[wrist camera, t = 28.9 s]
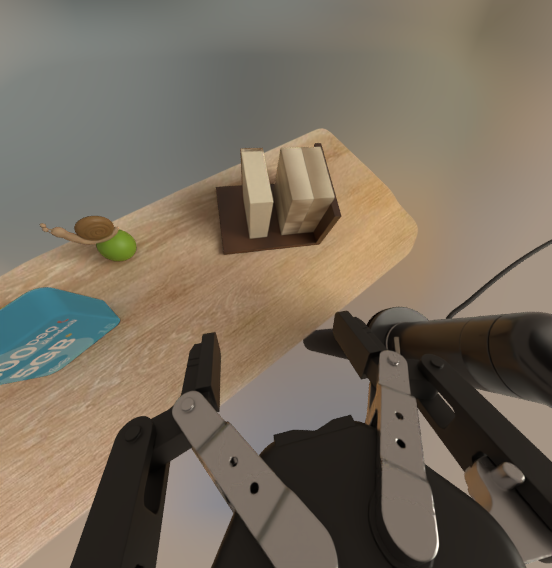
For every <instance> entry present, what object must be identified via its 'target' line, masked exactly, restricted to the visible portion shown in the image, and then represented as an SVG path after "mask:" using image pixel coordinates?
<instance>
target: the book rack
mask: <svg viewBox="0 0 552 568" xmlns="http://www.w3.org/2000/svg"><path fill="white" fill-rule="evenodd" d="M270 188H271V193H272V198H273V206H272V212H271V218H270V223H269V229H268V234H267V237H260V238H251V239H250V236H249V230H248V224H247V218H246V212H245V206H244V200H243V194H242V186H225V187H216V192H217V200H218V208H219V216H220V224H221V233H222V241H223V249H224V254H225V255H226V254H235V253H244V252H254V251H263V250H272V249H281V248H290V247H300V246H309V245H318V244H320V243H321V242H322V241H323V239H324V238H325V237H326V235H327V234H328V233H329V232H330V230H331V229H332V228H333V226H334V225H335V224H336V222H337V221H338V220H339V219H340V217H341V213H340V209H339V206H338V202H337V199H336V195H335V192H334V188H333V184H332V181H331V177H330V174H329V170H328V167H327V163H326V159H325V156H324V152H323V149H322V145H321V143H315V145H314V147H295V148H281V150H280V156H279V162H278V167H277V173H276V179H275V184H270Z"/></svg>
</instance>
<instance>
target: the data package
mask: <svg viewBox="0 0 552 568" xmlns="http://www.w3.org/2000/svg"><path fill="white" fill-rule="evenodd" d="M119 322H120V319H119V318H118V316H117V315H116V314H115V313H114V312H113V311H112V310H111V308H110V307H109V306H108V305H107V304H106V303H105V302H104V301H103V300H100V299H96V298H91V297H87V296H83V295H79V294H75V293H71V292H67V291H63V290H59V289H55V288H50V287H43V288H37V289H33V290H31V291H28V292H26V293H25V294H23V295H21V296H20V297H18V298H17V299H15V300H14V301H12V302H11V303H9V304H8V305H6V306H5V307H3V308H2V309H0V385H2V384H7V383H12V382H17V381H22V380H28V379H33V378H38V377H43V376H47V375H50V374H53V373H55V372H57V371H59V370H60V369H62V368H63V367H65V366H66V365H67V364H69V363H70V362H71V361H72V360H74V359H75V358H76V357H77V356H79V355H80V354H81V353H83V352H84V351H85V350H86V349H88V348H89V347H90V346H91V345H93V344H94V343H95V342H97V341H98V340H99V339H100V338H102V337H103V336H104V335H105V334H107V333H108V332H109V331H111V330H112V329H113V328H114V327H116V326H117V325H118V324H119Z"/></svg>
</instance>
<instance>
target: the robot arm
mask: <svg viewBox="0 0 552 568" xmlns="http://www.w3.org/2000/svg"><path fill="white" fill-rule="evenodd" d="M550 244H552V240H550V241H548V242H546V243H544V244H542V245H541V246H539V247H537V248H535V249H534V250H532V251H531V252H529V253H527V254H526V255H524V256H523V257H521V258H520V259H518V260H517V261H515V262H514V263H512V264H511V265H510V266H508V267H507V268H505V269H504V270H503V271H501V272H500V273H499V274H498V275H496V276H495V277H494V278H493V279H491V280H490V281H489V282H488V283H486V284H485V285H484V286H483V287H482V288H480V289H479V290H478V291H477V292H476V293H475V294H473V295H472V296H471V297H470V298H469V299H468V300H466V301H465V302H464V303H462V304H461V305H460V306H458V307H457V308H455V309H454V310H453V311H452V312H451V313H450V314H449V315H448V316H447V317H446V319H441V320H432V321H419V322H401V323H397V324H395V325H393V326H392V327H391V328H390V329H389V330H388V331H387V333H386V336H385V342H384V345H385V346H384V345H383V344H382V342H381V341H380V340H379V339H378V338H377V337H376V336H375V334H374V333H372V331H371V330H370V329H369V328H368V326H367V325H366V324H365V323H364V322H363V321H362V320H360V319H359V318H357V317H353V316H352V315H351V314H350V313H349V312H348V311H342V312H336V313H335V318H334V325H333V335H334V337H335V339H336V340H337V342H338V344H339V345H340V347H341V348H342V350H343V352H344V353H345V355H346V356H347V358H348V359H349V361H350V363H351V364H352V366H353V367H354V369H355V371H356V372H357V373H358V375H359V377H360V378H361V379H365V378H368V379H369V380H370V383H369V393H368V394H369V395H368V407H367V416H366V420H365V423H362V422H358V421H354V420H353V418H352V416H351V415H348V416H344V417H340V418H336V419H333V420H331V421H330V422H328V423H327V424H325V425H324V426H322V427H321V428H319V429H318V430H315V431H310V430H309V431H308V430H291V431H287V432H283V433H279V434H276V435H274V442H272V443H271V444H270V445H268V446H267V447H266V448H265V449H264V450H263V451H262V452H261V454H260V455H258V454H257V453H256V452H255V451H254V449H252V447H251V446H250V445H249V444H248V443H247V442H246V440H245V439H244V438H243V437H242V436H241V435H240V434H239V432H238V431H237V430H236V429H235V428H234V427H233V426H232V425H231V424H230V423H229V422H226V421H224V420H223V419H222V418H221V416H220V415H219V414H218V413H217V412H219V408H220V372H221V353H220V347H219V343H218V339H217V335H216V332H213V333H207V334H203V336H202V342H201V343H199V344H194V346H193V347H192V349H191V350H190V353H189V358H188V363H187V368H186V373H185V378H184V383H183V388H182V393H181V396H180V397H179V398H178V399H177V401H176V402H175V404H174V405H173V406H172V407H171V408H170V409H169V410H167V411H165V412H163V413H161V414H160V415H158V416H156V417H154V418H152V419H150V418H149V417H146V416H140V417H137V418H135V419H132V420H131V421H129V422H128V423H127V424H126V425H125V426H123V428H122V429H121V430H120V431H119V433H118V434H117V436H116V438H115V441H114V444H113V447H112V450H111V452H110V455H109V458H108V461H107V464H106V467H105V470H104V472H103V475H102V478H101V481H100V484H99V487H98V489H97V492H96V495H95V498H94V501H93V504H92V507H91V509H90V512H89V515H88V518H87V521H86V524H85V527H84V529H83V532H82V535H81V538H80V541H79V544H78V547H77V549H76V553H75V555H74V558H73V561H72V563H71V566H70V568H156V561H157V553H158V547H159V540H160V532H161V525H162V518H163V511H164V503H165V495H166V489H167V482H168V475H169V467H170V461H171V460H173V459H174V458H176V457H178V456H179V455H181V454H182V453H184V452H185V451H187V450H189V449H190V448H192V450H193V452H194V453H195V455H196V456H197V458H198V459H199V461H200V462H201V464H202V465H203V467H204V468H205V470H206V471H207V473H208V474H209V476H210V477H211V479H212V481H213V482H214V484H215V486H216V487H217V489H218V490H219V492H220V493H221V495H222V496H223V498H224V499H225V501H226V502H227V504H228V505H229V507H230V509H231V510H232V512H233V516H232V518H231V521H230V523H229V526H228V528H227V531H226V533H225V535H224V538H223V540H222V542H221V545H220V547H219V550H218V552H217V555H216V557H215V560H214V562H213V564H212V567H211V568H526V566H525V564H527V563H531V562H534V561H537V560H538V561H541V562H543V563H552V462H551V461H550V460H549V459H548V458H547V457H546V456H545V455H544V454H543V453H542V452H541V451H540V450H539V449H538V448H537V447H535V445H533V443H531V442H530V441H529V440H528V439H527V438H526V437H525V436H524V435H523V434H522V433H521V432H520V431H519V430H518V429H517V428H516V427H515V426H514V425H513V424H511V423H510V422H509V421H508V420H507V419H506V418H505V417H504V416H503V415H502V414H501V413H500V412H499V411H498V410H497V409H496V408H495V407H494V406H493V405H492V404H491V403H490V402H488V401H487V400H486V399H485V398H484V397H483V396H482V395H481V394H480V393H479V392H478V391H477V390H476V389H480V390H484V391H488V392H493V393H498V394H502V395H506V396H510V397H515V398H519V399H524V400H528V401H532V402H537V403H541V404H544V405H547V406H549V407H551V408H552V314H549V313H543V312H523V313H511V314H501V315H490V316H479V317H468V318H456V319H452V317H453V316H454V315H455V314H456V313H458V312H459V311H461V310H462V309H464V308H465V307H466V306H468V305H469V304H470V303H471V302H472V301H474V300H475V299H476V298H477V297H478V296H479V295H480V294H482V293H483V292H484V291H485V290H486V289H487V288H489V287H490V286H491V285H492V284H493V283H495V282H496V281H497V280H498V279H500V278H501V277H502V276H503V275H505V274H506V273H507V272H509V271H510V270H511V269H512V268H514V267H515V266H517V265H518V264H520V263H521V262H523V261H524V260H525V259H527V258H529V257H530V256H532V255H533V254H535V253H536V252H538V251H540V250H541V249H543V248H545V247H547V246H548V245H550ZM438 392H439V393H440V394H441V395H442V396H443V397H444V399H446V401H447V402H448V403H449V404H450V405H451V407H452V408H453V410H454V412H455V413H454V412H453V411H452V409H451V408H450V407H449V406H448V405H447V404H446V403H445V401H444V400H443V399H442V398H441V396H440V395H439V394H438ZM417 408H418V409H419V410H420V412H421V413H422V414H423V416H424V417H425V419H426V420H427V421H428V423H429V424H430V425H431V427H432V428H433V429H434V431H435V432H436V434H437V435H438V436H439V438H440V439H441V440H442V442H443V443H444V445H445V446H446V447H447V449H448V450H449V451H450V453H451V454H452V455H453V457H454V458H455V459H456V461H457V462H458V464H459V465H460V466H461V468H462V469H463V471H464V472H465V473H464V476H465V480H466V483H467V486H468V492H469V494H470V496H471V497H472V498H471V497H469V496H468V495H467V494H466V493H464V492H463V491H461V490H460V489H459V488H457V487H456V486H455V485H453V484H452V483H450V482H449V481H448V480H446V479H445V478H443V477H442V476H441V475H439V474H438V473H436V472H435V471H434V470H432V469H431V468H430V467H428V466H427V465H425V463H424V457H423V448H422V441H421V432H420V425H419V417H418V409H417Z"/></svg>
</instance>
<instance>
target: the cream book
mask: <svg viewBox="0 0 552 568" xmlns="http://www.w3.org/2000/svg"><path fill="white" fill-rule="evenodd" d="M240 151H241V173H242V194H243V200H244V206H245V212H246V218H247V224H248V230H249V236H250V239H251V238H260V237H267V234H268V229H269V223H270V218H271V212H272V206H273V198H272V193H271V188H270V183H269V178H268V173H267V168H266V163H265V158H264V153H263V148H248V149H247V148H245V149H241V150H240Z"/></svg>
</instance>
